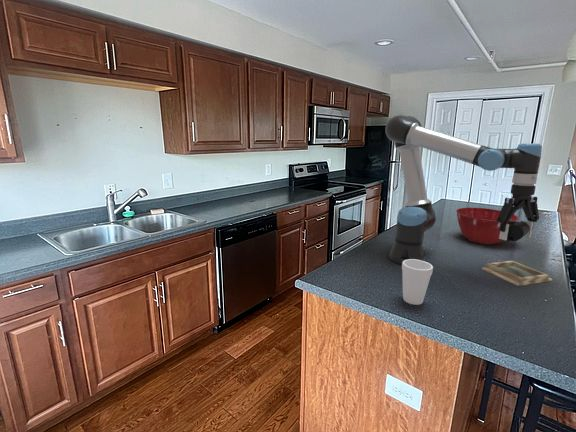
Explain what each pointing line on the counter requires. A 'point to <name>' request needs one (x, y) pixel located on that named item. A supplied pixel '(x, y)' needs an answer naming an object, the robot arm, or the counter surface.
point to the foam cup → (415, 280)
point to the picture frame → (516, 273)
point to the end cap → (517, 230)
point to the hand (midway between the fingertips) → (514, 238)
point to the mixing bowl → (480, 224)
